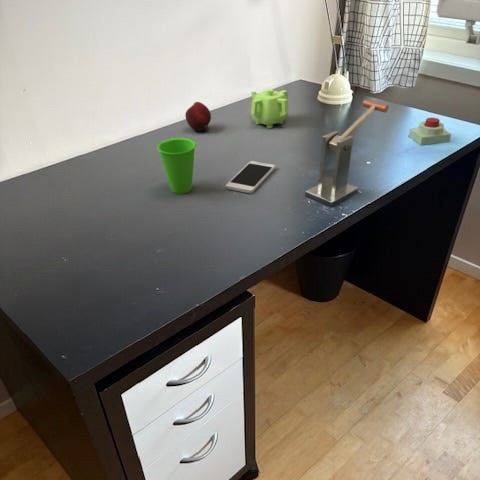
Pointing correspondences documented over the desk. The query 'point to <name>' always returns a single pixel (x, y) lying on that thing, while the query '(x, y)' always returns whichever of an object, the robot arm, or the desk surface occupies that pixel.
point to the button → (432, 122)
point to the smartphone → (250, 177)
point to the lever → (358, 121)
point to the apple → (198, 116)
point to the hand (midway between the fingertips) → (473, 43)
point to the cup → (178, 163)
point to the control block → (429, 134)
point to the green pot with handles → (269, 107)
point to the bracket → (333, 172)
